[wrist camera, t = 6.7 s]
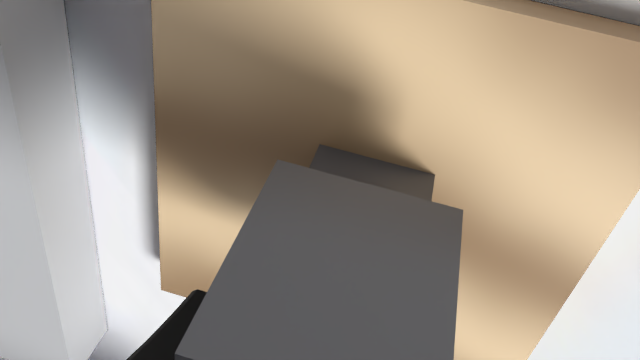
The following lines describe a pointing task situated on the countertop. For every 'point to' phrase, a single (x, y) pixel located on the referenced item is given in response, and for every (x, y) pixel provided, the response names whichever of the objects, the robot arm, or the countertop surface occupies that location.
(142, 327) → the countertop surface
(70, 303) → the power strip
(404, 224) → the block
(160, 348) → the robot arm
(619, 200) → the oak board
